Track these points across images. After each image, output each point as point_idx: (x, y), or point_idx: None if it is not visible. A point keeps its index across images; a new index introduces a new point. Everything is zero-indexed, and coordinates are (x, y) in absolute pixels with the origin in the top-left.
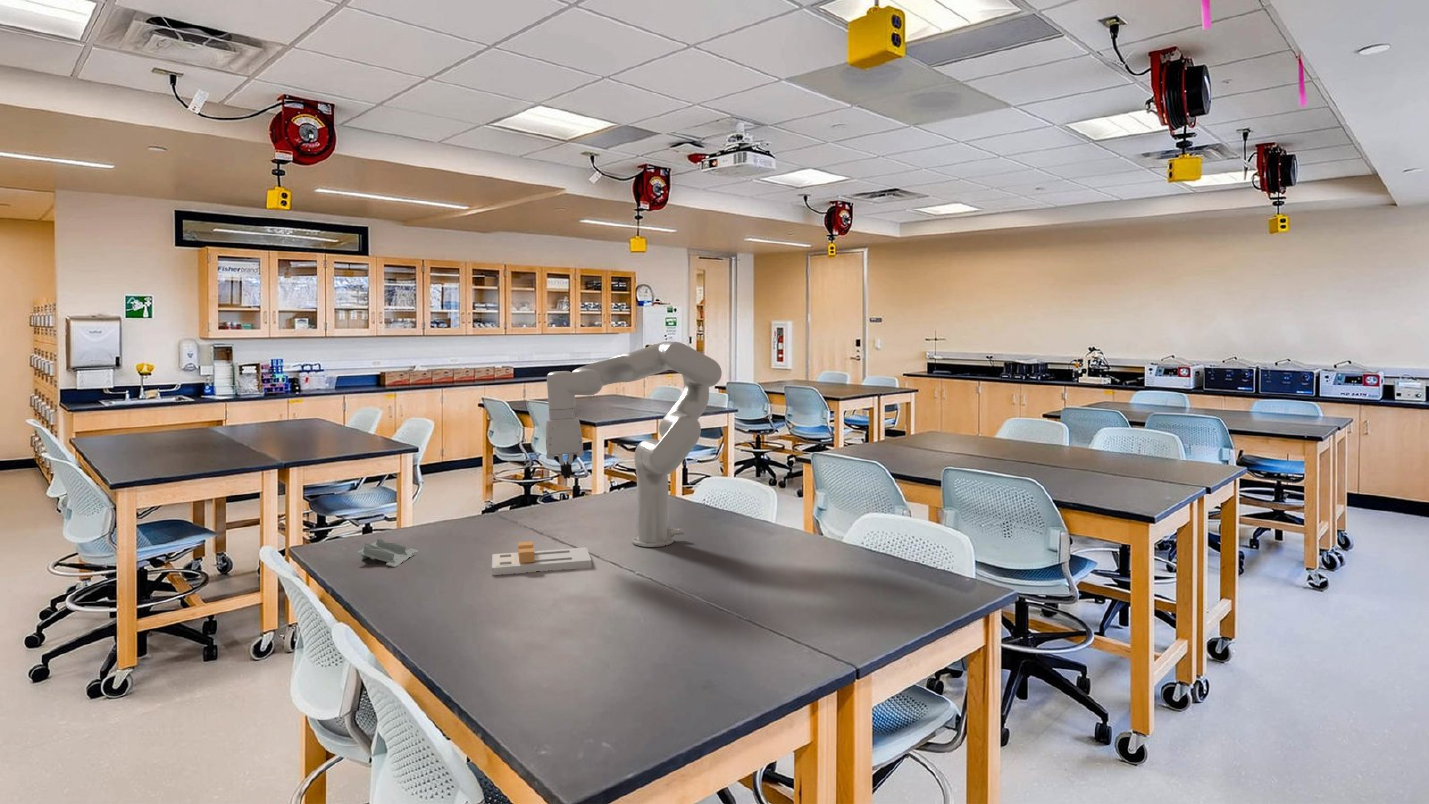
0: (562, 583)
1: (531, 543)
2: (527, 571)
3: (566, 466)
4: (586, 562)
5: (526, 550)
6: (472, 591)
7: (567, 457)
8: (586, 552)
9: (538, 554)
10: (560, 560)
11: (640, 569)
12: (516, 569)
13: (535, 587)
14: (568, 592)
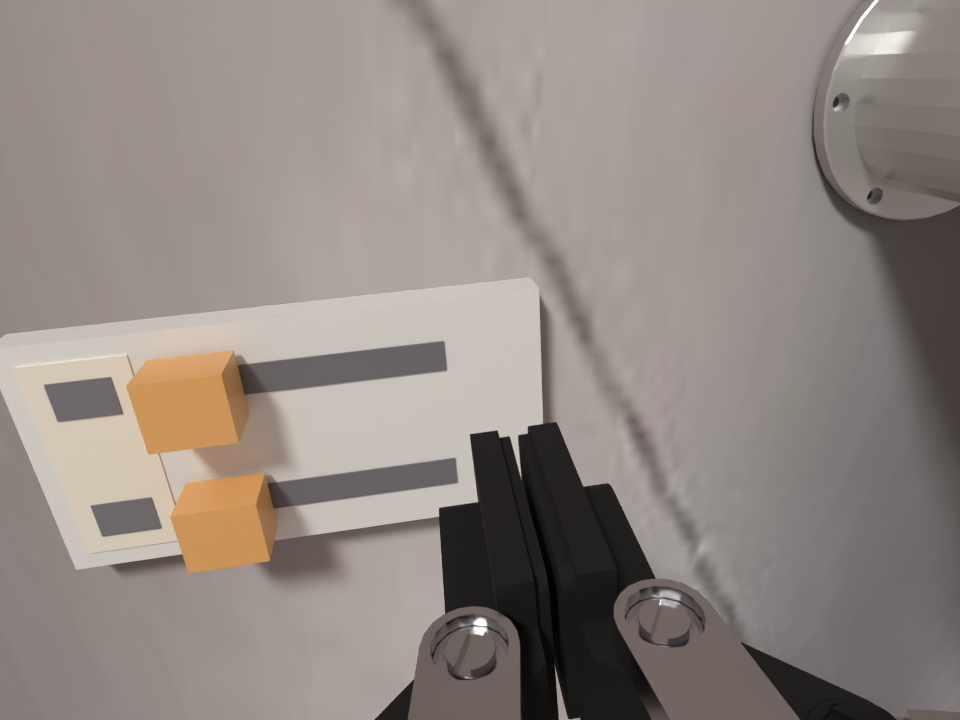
0: (416, 640)
1: (223, 419)
2: None
3: (560, 658)
4: None
5: (221, 540)
6: (74, 699)
7: (657, 703)
8: (532, 383)
9: (275, 390)
10: (402, 493)
11: (724, 520)
12: None
13: (317, 671)
14: None
